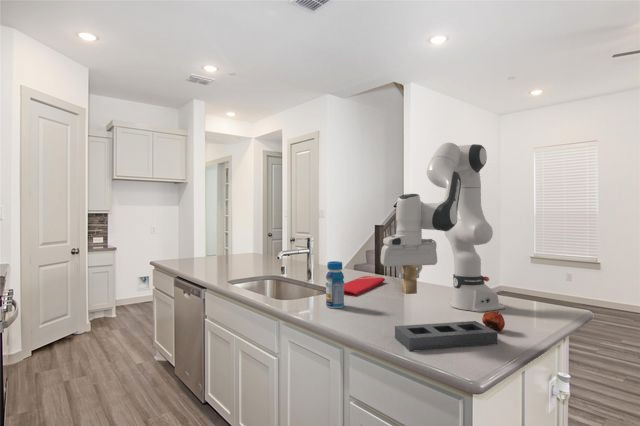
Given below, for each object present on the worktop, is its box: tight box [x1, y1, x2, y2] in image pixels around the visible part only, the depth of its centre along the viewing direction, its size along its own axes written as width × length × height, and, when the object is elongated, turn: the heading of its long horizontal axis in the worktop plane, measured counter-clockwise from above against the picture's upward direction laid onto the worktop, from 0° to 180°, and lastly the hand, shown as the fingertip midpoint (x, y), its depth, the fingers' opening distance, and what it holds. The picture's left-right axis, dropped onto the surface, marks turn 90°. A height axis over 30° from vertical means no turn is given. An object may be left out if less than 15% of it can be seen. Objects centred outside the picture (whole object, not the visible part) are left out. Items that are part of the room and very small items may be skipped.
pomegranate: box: [481, 310, 506, 332], centre depth 130 cm, size 7×7×10 cm
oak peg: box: [401, 265, 418, 295], centre depth 130 cm, size 4×4×10 cm
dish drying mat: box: [344, 275, 386, 297], centre depth 205 cm, size 16×41×4 cm, turn 148°
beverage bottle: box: [325, 261, 345, 309], centre depth 165 cm, size 8×8×20 cm
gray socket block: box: [394, 320, 499, 352], centre depth 120 cm, size 30×12×4 cm, turn 100°
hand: (409, 278), depth 130 cm, fingers closed on oak peg, 4 cm apart
